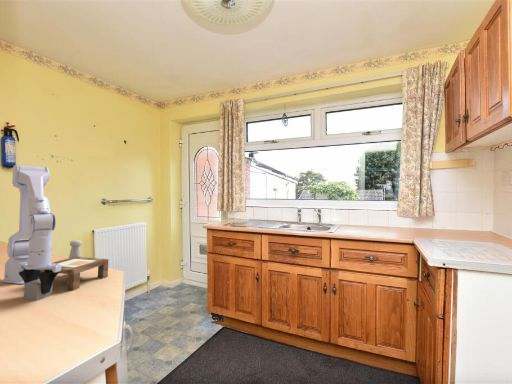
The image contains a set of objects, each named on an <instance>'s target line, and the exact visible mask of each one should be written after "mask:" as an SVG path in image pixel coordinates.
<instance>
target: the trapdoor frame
mask: <svg viewBox="0 0 512 384" xmlns="http://www.w3.org/2000/svg"><path fill="white" fill-rule="evenodd" d="M72 259H84V260H96V261H95V262H91V263H88V264H85V265H82V266H79V267H75V268H71V267H61V271H59V273H58V274H64V275H67V286H66V287H67V289H66V290H68V291H76V290H78V289H80V285H81V281H80V280H81V273H83V272H85V271H89V270H92V269H94V268H97V278H98V279H105V278H107V277H108V276H109V258H99V257H98V258H97V257H85V256H84V257H83V256H82V257H72V258H69V257H68V258H65V259H61V260H57V261H54V262H52V263H55V264H58V263H61V262H65V261H69V260H72ZM41 272H44V270H40V273H41ZM38 279H39V276H38Z"/></svg>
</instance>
